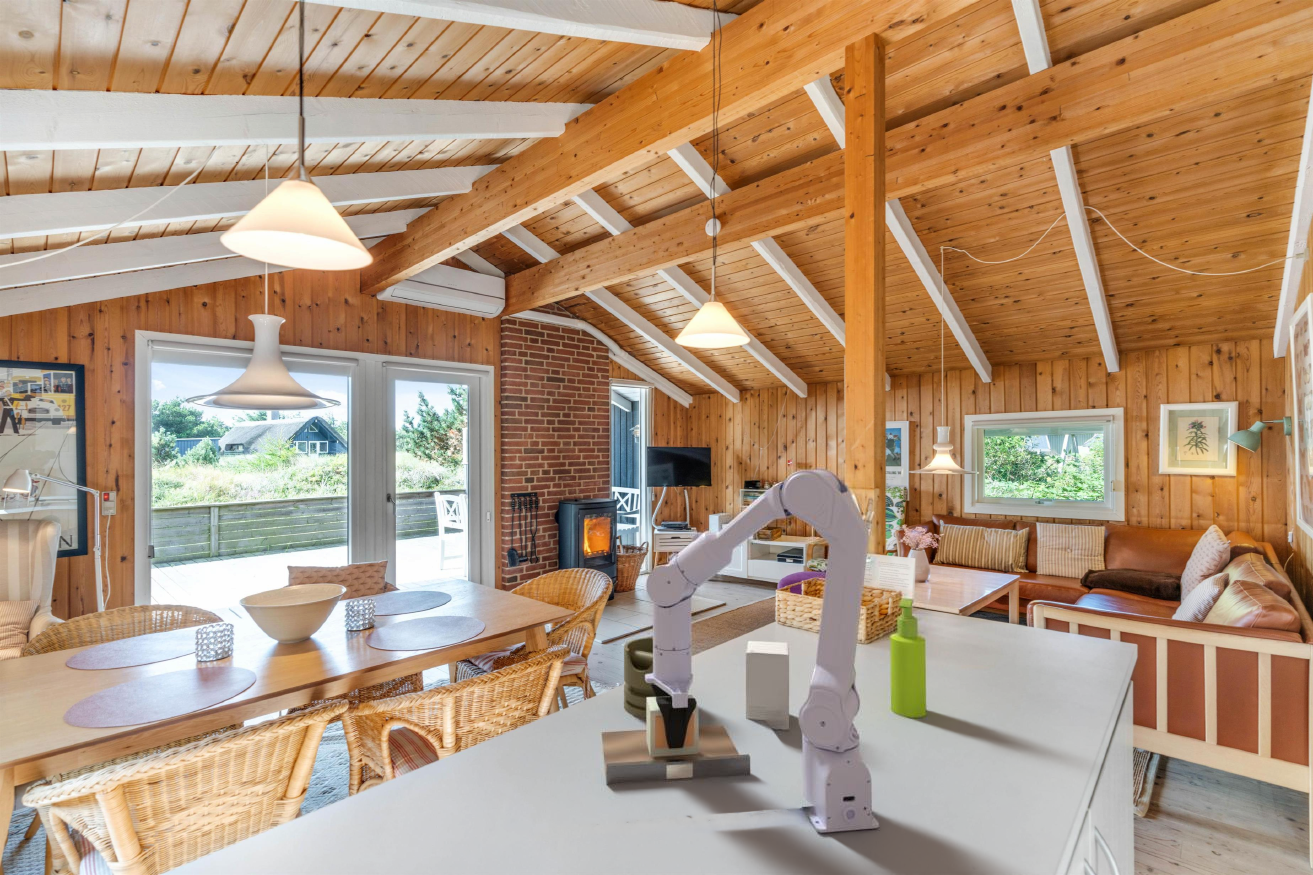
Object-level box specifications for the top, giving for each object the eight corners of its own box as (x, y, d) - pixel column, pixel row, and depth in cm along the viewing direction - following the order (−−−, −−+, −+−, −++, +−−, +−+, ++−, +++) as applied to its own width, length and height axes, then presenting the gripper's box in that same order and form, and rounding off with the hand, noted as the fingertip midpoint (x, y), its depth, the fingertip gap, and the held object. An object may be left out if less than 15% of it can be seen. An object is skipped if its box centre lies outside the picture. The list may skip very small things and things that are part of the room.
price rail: (750, 775, 86) (750, 757, 86) (606, 785, 84) (606, 766, 84) (748, 771, 87) (748, 754, 87) (606, 781, 85) (606, 763, 85)
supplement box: (789, 731, 103) (789, 654, 104) (744, 727, 105) (744, 651, 105) (789, 713, 111) (788, 641, 111) (747, 709, 112) (747, 639, 113)
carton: (646, 740, 94) (646, 697, 94) (692, 738, 94) (692, 694, 95) (650, 757, 88) (650, 711, 88) (699, 754, 89) (698, 708, 89)
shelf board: (750, 785, 86) (750, 774, 86) (606, 795, 84) (606, 784, 84) (723, 734, 102) (723, 725, 102) (601, 741, 100) (601, 732, 100)
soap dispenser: (888, 715, 110) (886, 601, 110) (893, 702, 116) (891, 594, 116) (924, 722, 107) (922, 605, 107) (927, 708, 113) (926, 597, 113)
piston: (646, 633, 118) (698, 643, 112) (646, 697, 118) (698, 710, 112) (611, 649, 109) (666, 660, 103) (611, 718, 109) (666, 733, 103)
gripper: (640, 632, 99) (640, 718, 98) (651, 662, 84) (651, 763, 84) (684, 630, 99) (684, 716, 99) (702, 659, 85) (702, 760, 85)
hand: (672, 737), depth 91 cm, fingers closed on carton, 5 cm apart
